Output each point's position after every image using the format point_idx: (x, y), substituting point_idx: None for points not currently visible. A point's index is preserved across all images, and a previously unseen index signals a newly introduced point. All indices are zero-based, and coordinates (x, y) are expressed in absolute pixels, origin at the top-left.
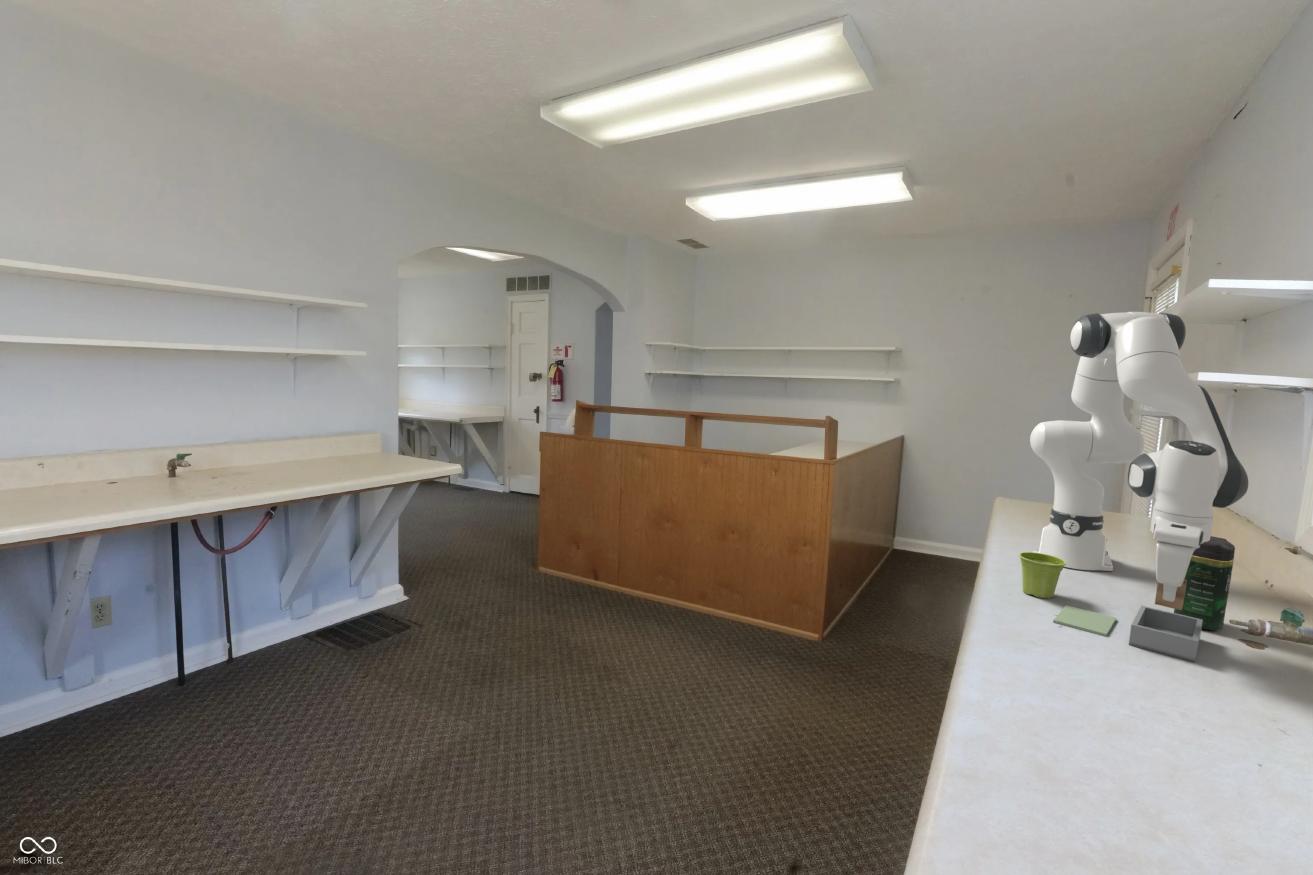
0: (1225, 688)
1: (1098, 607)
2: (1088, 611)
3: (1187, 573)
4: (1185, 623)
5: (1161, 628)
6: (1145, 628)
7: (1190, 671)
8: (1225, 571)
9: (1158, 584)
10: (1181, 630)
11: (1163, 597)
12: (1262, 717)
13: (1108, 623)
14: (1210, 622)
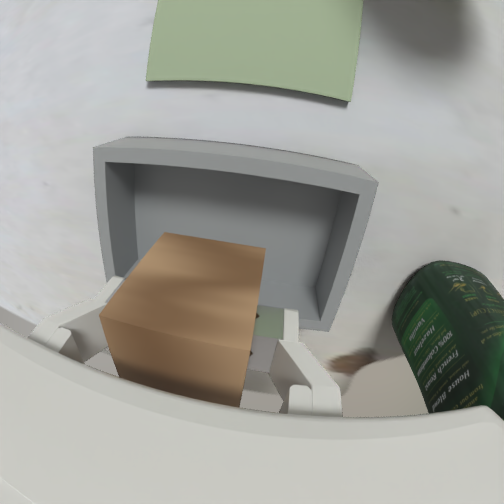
0: (64, 284)
1: (441, 74)
2: (352, 25)
3: (488, 380)
4: (325, 286)
5: (331, 220)
6: (95, 184)
7: (81, 248)
8: None
9: (114, 296)
10: (324, 266)
11: (111, 280)
12: (28, 300)
13: (261, 74)
14: (395, 330)
